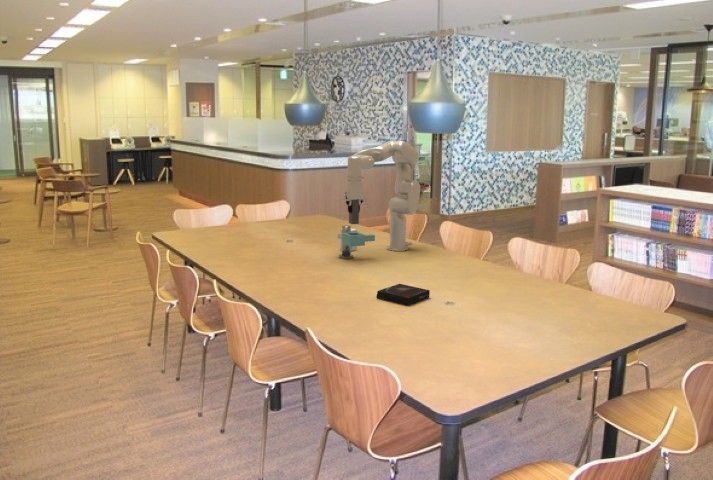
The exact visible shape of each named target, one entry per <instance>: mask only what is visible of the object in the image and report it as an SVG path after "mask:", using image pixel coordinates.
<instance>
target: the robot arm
mask: <svg viewBox="0 0 713 480" xmlns="http://www.w3.org/2000/svg"><path fill="white" fill-rule="evenodd" d="M419 157H420V155H419V152H418V150H417V149H415V148H414V147H413V146H412V145H410V144H409V143H408V142H406V141H404V140H394V139H393V140H392V139H391V140H389V141H386V142H384V143H381V144H380V145H378V146H375V147H371V148H367V149H363V150H359V151H358V152H356V153H354V154H352V155H350V156H348V157H347V177H346V178H347V181H345V184H344V191H343V192H344V193H343V198H342V199H341V201H342V202H343V203H345V204H346V205H347V212H348V214H349V213H352V206H351V203H352V200H356V199H359V213H360V211H361V205H362V203H364V201H366V196H365V195H364V191H365V190H364V184H363V181H362V180H363V179H364V176H362V170H370V169H372V168H373V167H374V165H375V163H379V162H383V161H385V160H387V159H388V158H392V161H393V162H394V164H395V166H396V178H395V184H394V192H395V194H396V195H399V196H394V197H392V198H391V199H390V200H389V202H388V209H389V214H390V215H389V216H390V217H389V218H390V220H389V221H390V222H389V224H390V225H389V245H388V246H387V247H386V249H387V250H388V251H393V252H405V250H406V251H408V249H409V247H408V246H413V242H412V241H411V242H410V241H407V240H406V239H407V237H406V236H407V235H406V233H407V219H406V216H405V215H412V216H413V215H414V214H416V212H417V210H418V206H419V201H420V195H421V185H420V183H419V181H417V180H415V179H411V178H412V168H411V166H410V165H415V164H417V163H418V161H419V159H420V158H419ZM402 196H406V197H402Z"/></svg>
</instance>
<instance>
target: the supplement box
mask: <svg viewBox="0 0 713 480" xmlns="http://www.w3.org/2000/svg"><path fill="white" fill-rule="evenodd" d="M351 232H358V228H357V229H356V228H351ZM340 234H342V229H340ZM339 244H340V245H339V246H340V247H339V249H340V251H342V239H340V243H339ZM357 250H358V246H354V247H351V248H350V252H353V251H357Z"/></svg>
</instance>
